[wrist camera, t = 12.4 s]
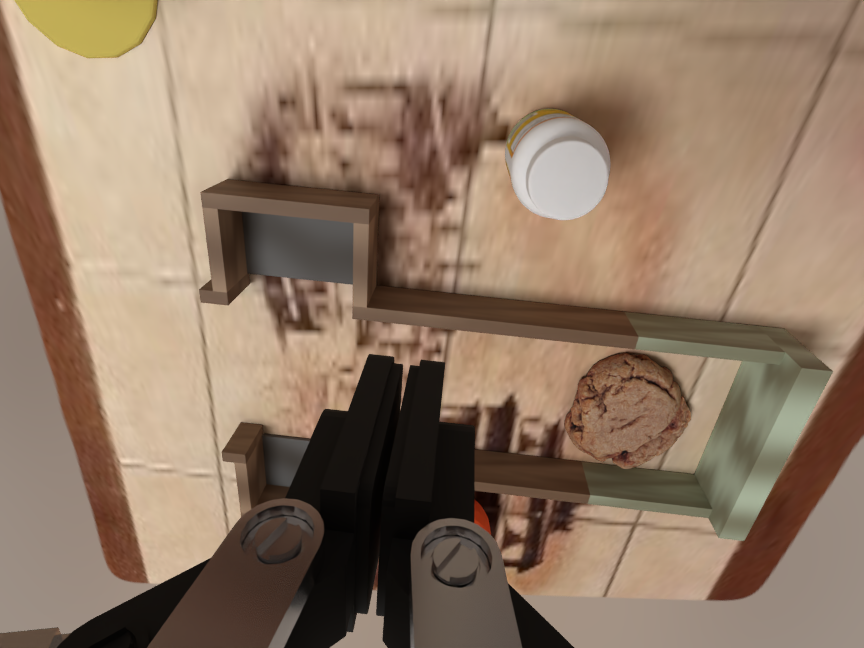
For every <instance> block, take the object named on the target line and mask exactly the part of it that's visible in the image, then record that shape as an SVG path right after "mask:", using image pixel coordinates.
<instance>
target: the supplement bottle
mask: <svg viewBox="0 0 864 648" xmlns="http://www.w3.org/2000/svg"><path fill="white" fill-rule="evenodd" d="M505 160H506V166H507V169H508V172H509V176H510V179H511V183H512V186H513V189H514V191H515V193H516V195H517V197H518V198H519V200H520V201H521V203H522V204H523V205H524V206H525V207H526V208H527V209H529V210H530V211H532V212H533V213H535V214H537V215H539V216H542V217H546V218H553V219H557V220H571V219H576V218H579V217H581V216H583V215H585V214H587V213H588V212H590V211H591V210H592V209H594V208H595V207H596V206H597V204H598V203H599V202H600V201H601V199H602V198H603V196H604V194H605V191H606V188H607V185H608V177H609V173H610V154H609V150H608V147H607V145H606V143H605V141H604V139H603V138H602V136H601V135H600V134H599V133H598V132H597V131H596V130H595V129H594V128H593V127H592V126H590V125H589V124H587V123H585V122H584V121H582V120H580V119H578V118H576V117H575V116H573V115H571V114H569V113H567V112H565V111H562V110H558V109H541V110H537V111H535V112H532V113H530V114H528V115H527V116H525V117H524V118H522V119H521V120H520V121H519V122H518V123H517V124H516V125H515V127H514V128H513V130H512V131H511V133H510V135H509V137H508V140H507V143H506V148H505Z"/></svg>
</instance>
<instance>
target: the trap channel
mask: <svg viewBox="0 0 864 648" xmlns="http://www.w3.org/2000/svg"><path fill="white" fill-rule="evenodd" d="M379 197H380V195H378V194H368V193H358V192H348V191H338V190H328V189H318V188H309V187H299V186H289V185H279V184H269V183H259V182H249V181H239V180H229V179H227V180H225V181H222V182H220V183H218V184H216V185H214V186H212V187H210V188H208V189H206V190H204V191H202V192H201V200H202V208H203V216H204V224H205V232H206V240H207V248H208V256H209V264H210V272H211V280H210V281H209V282H208V283H206V284H205V285H204V286H203V287H202V288H200V289H199V292H200V300H201V302H202V303H211V304H221V305H229V304H230V303H231V302H232V301H233V300H234V299H235V298H236V297H237V296H238V295H239V294H240V293H241V292H242V291H243V290H244V289H245V288H246V287H247V286H248V285H249V284H250V279H249V274H259V275H268V276H278V277H287V278H297V279H306V280H315V281H325V282H334V283H344V284H353V316H352V319H359V320H369V321H378V322H387V323H396V324H406V325H415V326H424V327H433V328H443V329H452V330H461V331H470V332H480V333H489V334H498V335H507V336H517V337H526V338H535V339H544V340H554V341H563V342H572V343H581V344H591V345H600V346H609V347H619V348H628V349H637V350H646V351H656V352H665V353H674V354H683V355H693V356H702V357H711V358H720V359H730V360H739V361H742V363H741V365H740V368H739V370H738V372H737V375H736V377H735V380H734V382H733V384H732V387H731V389H730V391H729V394H728V396H727V398H726V401H725V403H724V406H723V408H722V410H721V413H720V415H719V417H718V420H717V422H716V424H715V427H714V429H713V432H712V434H711V436H710V439H709V441H708V443H707V446H706V448H705V450H704V453H703V455H702V458H701V460H700V462H699V465H698V467H697V469H696V472H695V474H686V473H677V472H668V471H660V470H651V469H642V468H631V469H623V468H621V467H619V466H616V465H607V464H599V463H590V462H581V461H572V460H564V459H555V458H546V457H538V456H529V455H520V454H511V453H503V452H494V451H485V450H477V449H475V491H482V492H490V493H499V494H508V495H516V496H525V497H533V498H542V499H550V500H559V501H567V502H576V503H584V504H593V505H601V506H610V507H619V508H627V509H636V510H644V511H653V512H661V513H670V514H678V515H687V516H695V517H704V518H709V520H710V522H711V524H712V526H713V528H714V530H715V532H716V534H717V536H718V538H723V539H732V540H740V541H744V540H745V538H746V536H747V535H748V533H749V531H750V529H751V527H752V525H753V523H754V521H755V519H756V517H757V515H758V514H759V512H760V510H761V508H762V506H763V504H764V502H765V500H766V498H767V496H768V494H769V493H770V491H771V489H772V487H773V485H774V483H775V481H776V479H777V477H778V475H779V474H780V472H781V470H782V468H783V466H784V464H785V462H786V460H787V458H788V456H789V454H790V453H791V451H792V449H793V447H794V445H795V443H796V441H797V439H798V437H799V435H800V434H801V432H802V430H803V428H804V426H805V424H806V422H807V420H808V418H809V416H810V414H811V413H812V411H813V409H814V407H815V405H816V403H817V401H818V399H819V397H820V395H821V394H822V392H823V390H824V388H825V386H826V384H827V382H828V380H829V378H830V376H831V374H832V373H833V371H832V370H831V369H830V368H829V367H827V366H826V365H825V364H824V363H823V362H822V361H821V360H819V359H818V358H817V357H816V356H815V355H814V354H813V353H811V352H810V351H809V350H808V349H807V348H806V347H805V346H803V345H802V344H801V343H800V342H799V341H798V340H797V339H795V338H794V337H793V336H792V335H791V334H790V333H789V332H787V331H786V330H785V329H783V328H774V327H764V326H755V325H746V324H736V323H727V322H717V321H708V320H698V319H689V318H680V317H670V316H661V315H651V314H642V313H632V312H623V311H614V310H604V309H595V308H585V307H576V306H566V305H557V304H547V303H538V302H529V301H519V300H510V299H500V298H491V297H481V296H472V295H463V294H453V293H444V292H434V291H425V290H415V289H406V288H396V287H387V286H378V285H376V284H377V255H378V226H379ZM309 442H310V439H306V438H297V437H289V436H280V435H271V434H263V425H259V424H250V423H240V425H239V426H238V428H237V429H236V431H235V432H234V434H233V435H232V437H231V439H230V440H229V442H228V443H227V445H226V446H225V448H224V449H223V451H222V458H223V461H226V462H234V463H235V470H236V478H237V486H238V494H239V502H240V510H241V517H242V516H243V515H244V514H245V513H246V512H248V511H249V510H251V509H252V508H254V507H255V506H257V505H259V504H262V503H265V502H267V501H270V500H276V499H284V498H285V497H286V495H287V492H288V490H289V488H290V485H291V483H292V481H293V478H294V476H295V474H296V472H297V469H298V467H299V465H300V462H301V460H302V458H303V455H304V453H305V451H306V449H307V446H308V444H309Z"/></svg>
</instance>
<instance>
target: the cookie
mask: <svg viewBox="0 0 864 648" xmlns="http://www.w3.org/2000/svg"><path fill="white" fill-rule="evenodd" d="M690 420H691V412H690V410H689V408H688V407H687V404H686V402H685V399H684V398H683V397H682V396H681V391H680V388H679V386H678V384H677V383H676V382H674V381H673V376H672V373H671V371H670V370H669V369H667V368H666V367H661V366H659V365H658V364H657V363H656V362H654V361H652V360H651V359H650V358H649V357H648V356H647V355H645V354H639V355H630V354H629V353H622V354H617V355H613V356H610V357H608V358H605V359H604V360H600V361H598V363H596V364H595V365H593V367H592V368H591V370H590V371H589V372H588V374H587V377H586V378H582V379H581V380H580V382H579V383H578V390H577V394H576V396H575V400H574V404H573V407H572V408H571V412H569V413H568V414H567V416H566V419H565V422H564V426H565V429H566V431H567V433H568V435H569V437H570V439H571V440H572V442H573V443H574V445H575V446H576V447H577V448H578V449H579V450H581V451H583V452H584V453H587V454H588V455H591V456H593V457H594V458H595V459H597V460H599V461H601V462H604V461H605V460H606V459H608V458H612V461H613V463H614V464H616V465H618V466H619V467H621V468H623V469H631V468H633V467H636V466H639V465H641V464H643V463H645V462H647V461H649V460H651V459H652V458H654V456H655V455H656V456H658V455H660V454H662V453H663V452H665V451H666V450H667V449H668V448H670V447H671V446H672V445H673V444H674V443H675V442H676V441H677V439H678V438H679V437H680V436H681V434H682V433H683V431H684V429H685V428H686V427H687V426H688V422H689V421H690Z"/></svg>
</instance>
